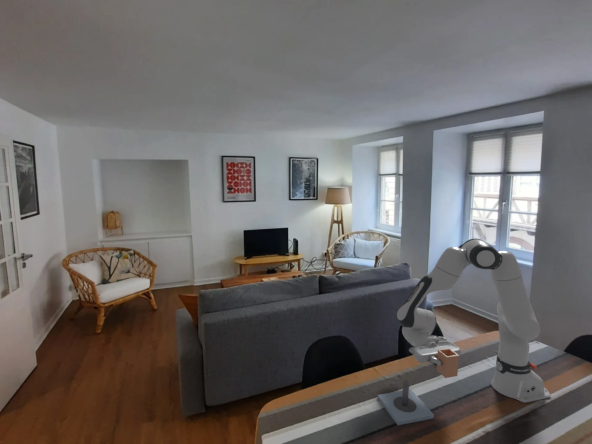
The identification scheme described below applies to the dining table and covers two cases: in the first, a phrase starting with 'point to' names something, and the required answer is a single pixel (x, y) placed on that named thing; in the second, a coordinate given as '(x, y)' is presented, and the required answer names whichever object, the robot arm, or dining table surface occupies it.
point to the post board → (405, 406)
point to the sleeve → (448, 362)
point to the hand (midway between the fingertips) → (449, 362)
